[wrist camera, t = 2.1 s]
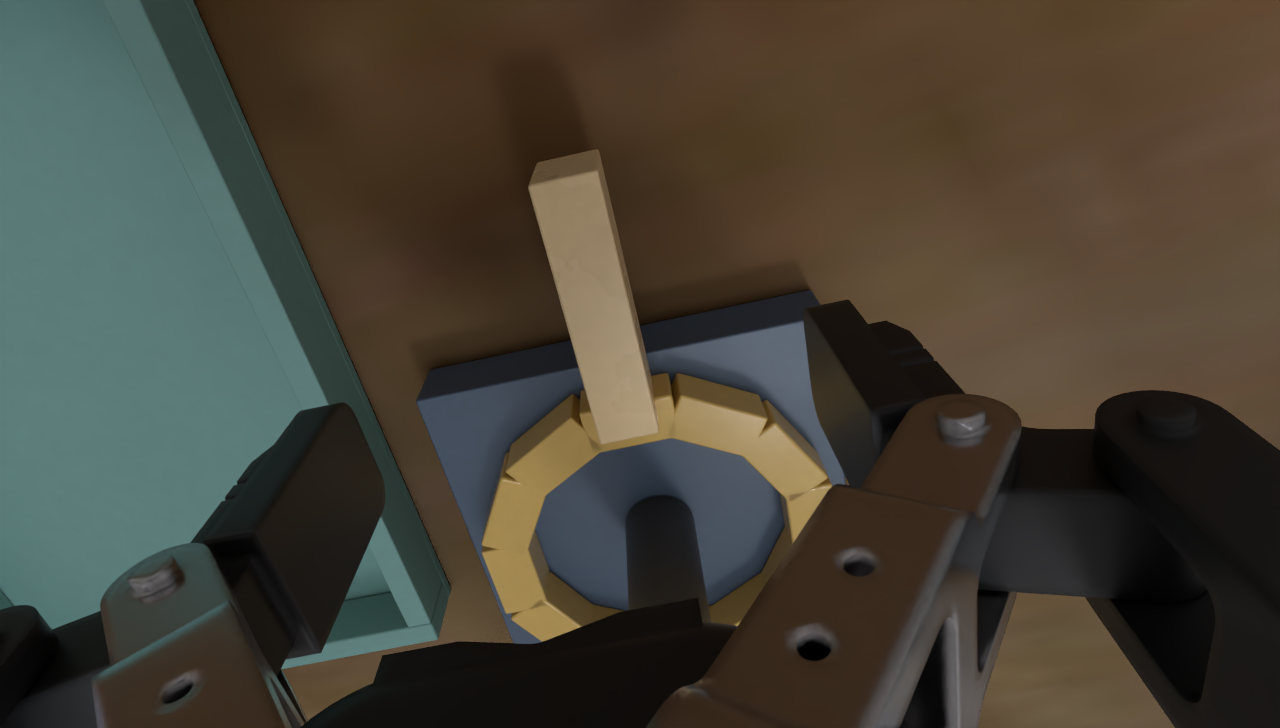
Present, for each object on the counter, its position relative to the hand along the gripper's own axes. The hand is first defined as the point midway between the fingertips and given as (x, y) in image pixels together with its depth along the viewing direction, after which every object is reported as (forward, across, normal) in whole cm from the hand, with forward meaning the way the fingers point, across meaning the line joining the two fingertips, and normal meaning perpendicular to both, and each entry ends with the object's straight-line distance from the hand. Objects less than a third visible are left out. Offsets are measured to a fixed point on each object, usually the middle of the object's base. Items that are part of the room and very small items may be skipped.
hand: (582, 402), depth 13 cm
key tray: (+10, +16, +1) cm, 19 cm away
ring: (+8, 0, +6) cm, 10 cm away
